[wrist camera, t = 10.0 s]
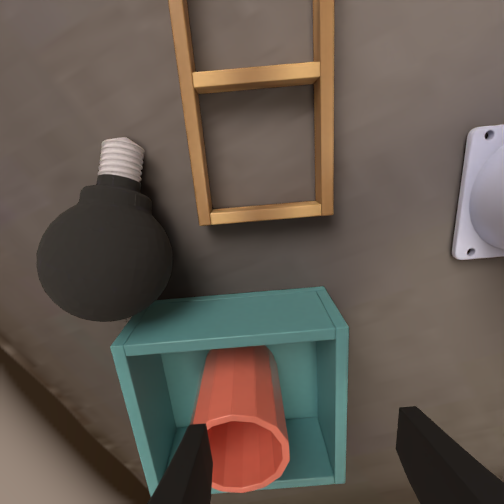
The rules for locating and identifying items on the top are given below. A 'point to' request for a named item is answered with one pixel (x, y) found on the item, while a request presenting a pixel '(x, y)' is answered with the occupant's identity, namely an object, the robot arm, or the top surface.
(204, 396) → the cup
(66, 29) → the top surface
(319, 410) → the open storage box
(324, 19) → the frame
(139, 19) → the top surface
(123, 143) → the light bulb
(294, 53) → the top surface
